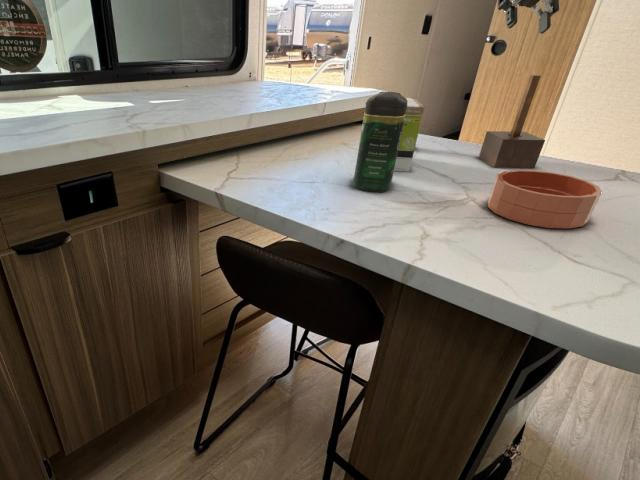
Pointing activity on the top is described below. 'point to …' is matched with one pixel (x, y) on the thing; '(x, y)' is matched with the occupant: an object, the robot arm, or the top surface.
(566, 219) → the bowl
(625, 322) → the top surface
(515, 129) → the stirring stick
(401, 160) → the tea box
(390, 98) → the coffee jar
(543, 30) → the robot arm
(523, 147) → the block
